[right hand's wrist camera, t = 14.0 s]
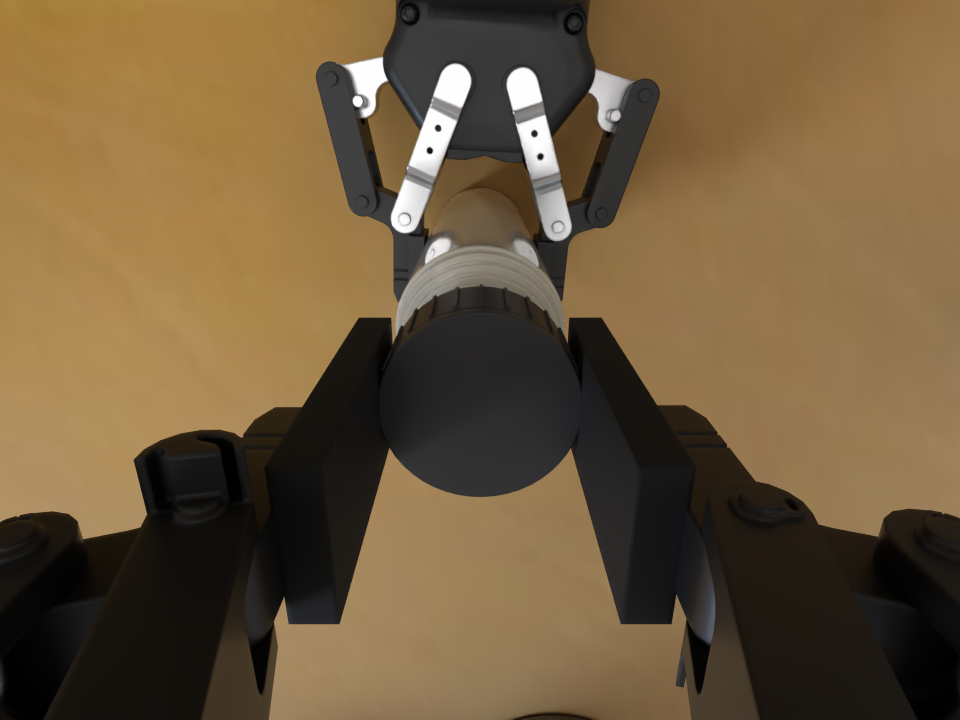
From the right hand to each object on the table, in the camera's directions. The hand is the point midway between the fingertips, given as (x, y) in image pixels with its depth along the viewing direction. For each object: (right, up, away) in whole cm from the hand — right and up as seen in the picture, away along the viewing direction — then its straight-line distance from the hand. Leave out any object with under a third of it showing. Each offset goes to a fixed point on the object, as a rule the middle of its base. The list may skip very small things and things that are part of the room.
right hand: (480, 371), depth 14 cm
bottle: (0, +7, +18) cm, 20 cm away
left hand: (0, +3, +13) cm, 14 cm away
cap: (0, -1, -2) cm, 2 cm away
